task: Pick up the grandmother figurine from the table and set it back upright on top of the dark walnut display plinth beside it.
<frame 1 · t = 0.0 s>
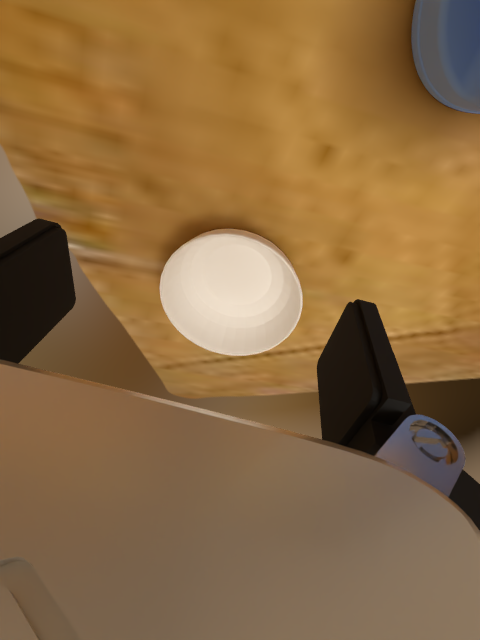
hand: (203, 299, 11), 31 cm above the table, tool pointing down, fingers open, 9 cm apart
bowl: (237, 274, 46), on the table
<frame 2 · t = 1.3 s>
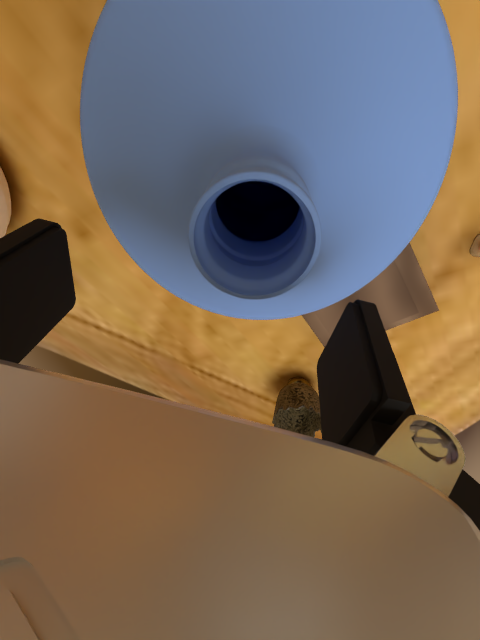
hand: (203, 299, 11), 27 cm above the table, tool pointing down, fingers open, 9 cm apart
water jug: (264, 127, 30), on the table
display plinth: (349, 275, 39), on the table
cup: (298, 382, 51), on the table
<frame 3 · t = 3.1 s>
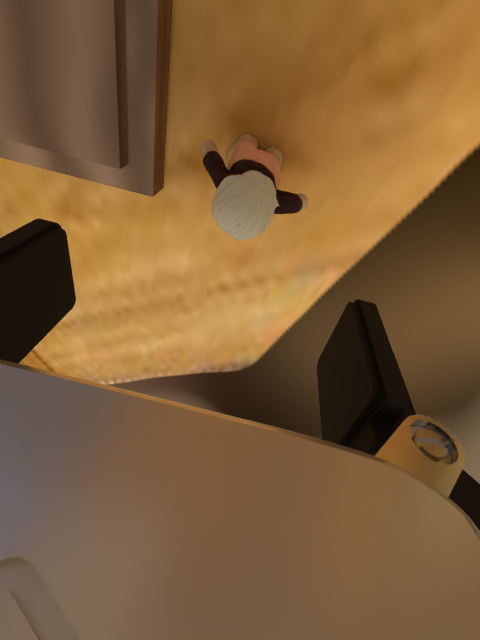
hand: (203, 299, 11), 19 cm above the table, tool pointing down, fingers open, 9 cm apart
display plinth: (73, 50, 23), on the table
grandmother figurine: (262, 161, 26), on the table
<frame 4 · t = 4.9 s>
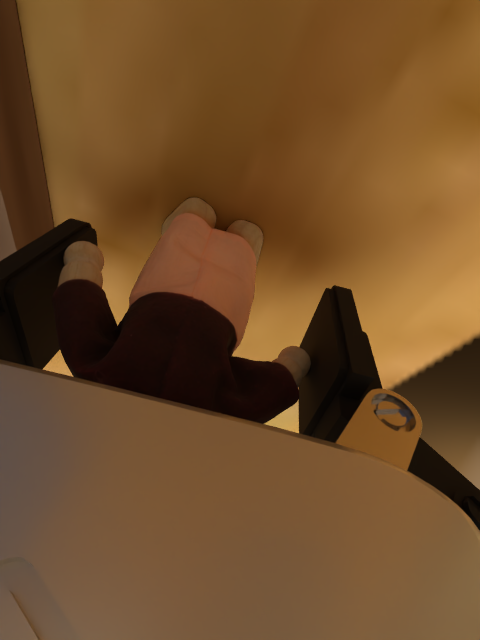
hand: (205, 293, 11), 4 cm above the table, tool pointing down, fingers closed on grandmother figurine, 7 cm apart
grandmother figurine: (226, 242, 14), on the table, touching gripper
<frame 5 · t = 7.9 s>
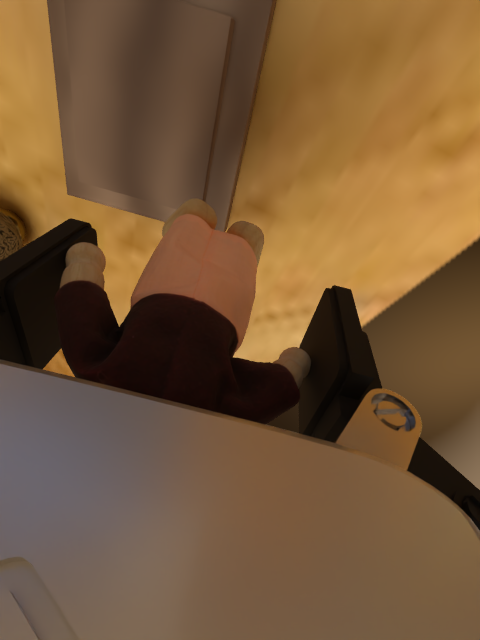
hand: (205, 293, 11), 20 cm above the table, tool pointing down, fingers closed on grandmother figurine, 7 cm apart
display plinth: (161, 108, 25), on the table
cup: (13, 223, 33), on the table
grandmother figurine: (226, 243, 14), point 16 cm above the table, touching gripper
when the fingers open (9 cm above the table, at t = 11.0 s): grandmother figurine drops 1 cm, resting on display plinth.
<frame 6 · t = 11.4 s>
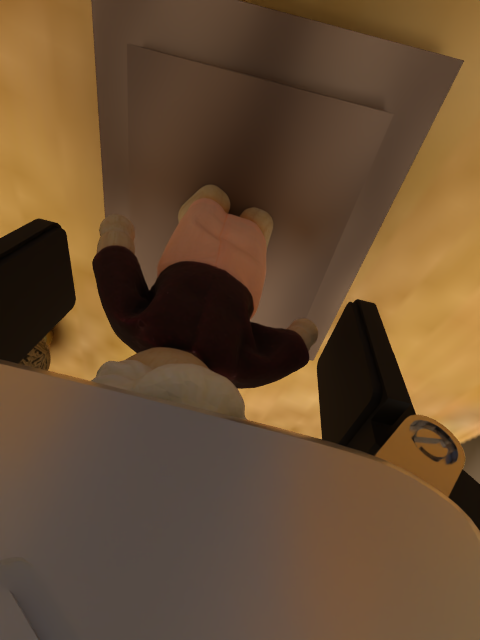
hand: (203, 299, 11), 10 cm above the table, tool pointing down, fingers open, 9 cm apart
display plinth: (242, 206, 18), on the table
cup: (37, 324, 27), on the table
grandmother figurine: (238, 229, 15), point 4 cm above the table, touching display plinth
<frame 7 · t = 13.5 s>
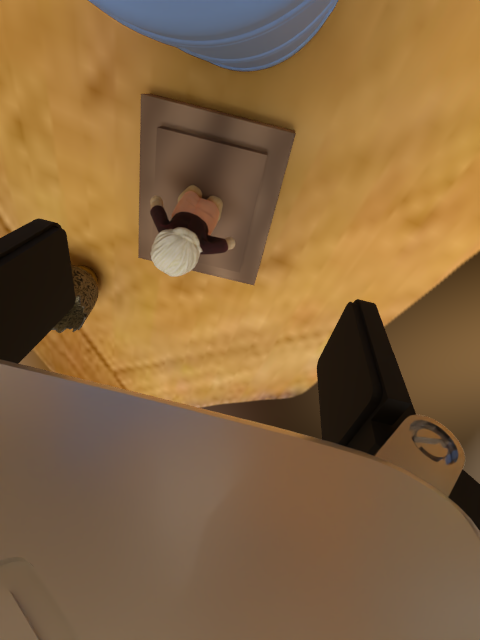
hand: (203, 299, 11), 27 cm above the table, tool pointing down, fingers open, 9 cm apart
display plinth: (210, 197, 35), on the table
cup: (87, 274, 43), on the table
grandmother figurine: (206, 206, 31), point 4 cm above the table, touching display plinth
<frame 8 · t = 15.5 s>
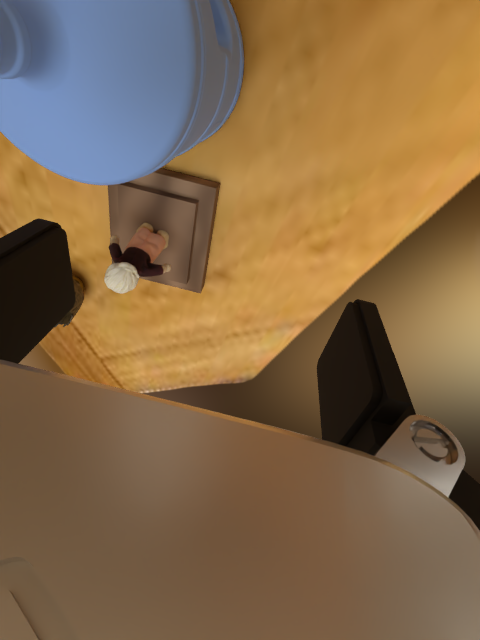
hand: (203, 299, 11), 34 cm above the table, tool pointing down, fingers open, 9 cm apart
water jug: (174, 62, 34), on the table
display plinth: (164, 227, 46), on the table
cup: (76, 282, 55), on the table
grandmother figurine: (157, 237, 43), point 4 cm above the table, touching display plinth
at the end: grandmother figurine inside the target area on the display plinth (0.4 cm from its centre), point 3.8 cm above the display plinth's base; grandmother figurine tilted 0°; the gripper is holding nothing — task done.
